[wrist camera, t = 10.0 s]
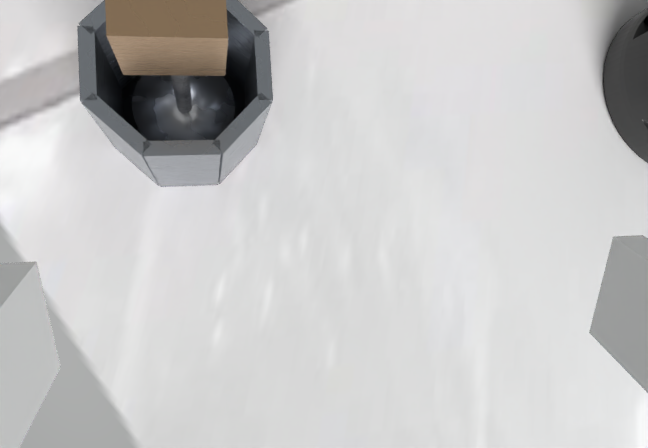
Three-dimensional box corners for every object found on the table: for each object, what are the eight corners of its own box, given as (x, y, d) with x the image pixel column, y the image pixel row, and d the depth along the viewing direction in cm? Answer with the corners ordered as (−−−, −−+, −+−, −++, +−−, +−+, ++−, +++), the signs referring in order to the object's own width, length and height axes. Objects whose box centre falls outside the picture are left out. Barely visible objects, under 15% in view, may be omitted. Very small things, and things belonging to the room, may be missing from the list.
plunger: (231, 62, 37) (248, -96, 21) (237, 156, 37) (258, 66, 21) (131, 61, 36) (69, -109, 20) (135, 158, 35) (75, 64, 19)
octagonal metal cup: (251, 51, 40) (265, -21, 30) (259, 183, 39) (276, 153, 29) (110, 49, 37) (75, -30, 28) (115, 188, 37) (82, 157, 27)
